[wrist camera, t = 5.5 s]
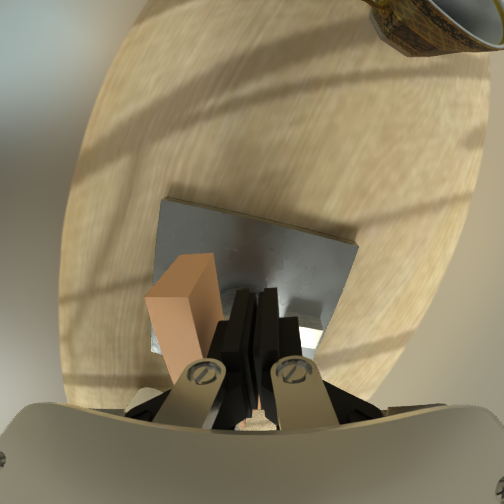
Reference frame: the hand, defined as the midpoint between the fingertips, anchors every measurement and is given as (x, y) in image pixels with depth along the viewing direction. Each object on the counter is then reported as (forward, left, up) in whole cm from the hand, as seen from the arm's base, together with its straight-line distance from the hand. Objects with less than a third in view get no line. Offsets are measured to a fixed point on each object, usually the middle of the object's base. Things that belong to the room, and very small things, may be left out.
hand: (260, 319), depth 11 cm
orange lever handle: (-5, +1, -3) cm, 6 cm away
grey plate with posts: (-7, +1, -12) cm, 13 cm away
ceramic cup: (+21, -6, -12) cm, 25 cm away
